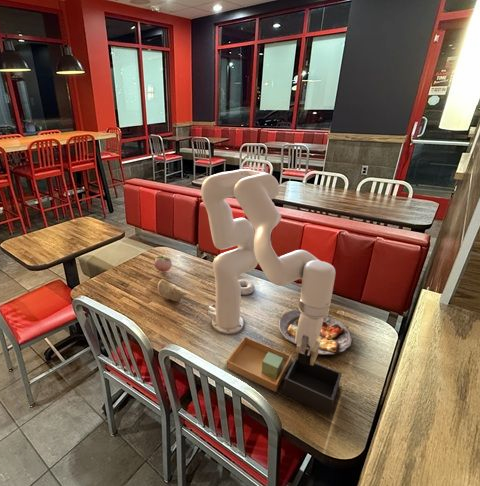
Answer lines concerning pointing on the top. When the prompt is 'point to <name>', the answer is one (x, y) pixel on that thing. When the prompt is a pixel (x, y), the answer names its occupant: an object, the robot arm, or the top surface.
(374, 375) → the top surface
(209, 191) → the robot arm
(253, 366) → the brown wooden tray
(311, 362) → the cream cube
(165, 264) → the decorative fruit
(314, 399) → the black basket
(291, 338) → the food plate
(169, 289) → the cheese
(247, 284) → the donut
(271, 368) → the sage cube
